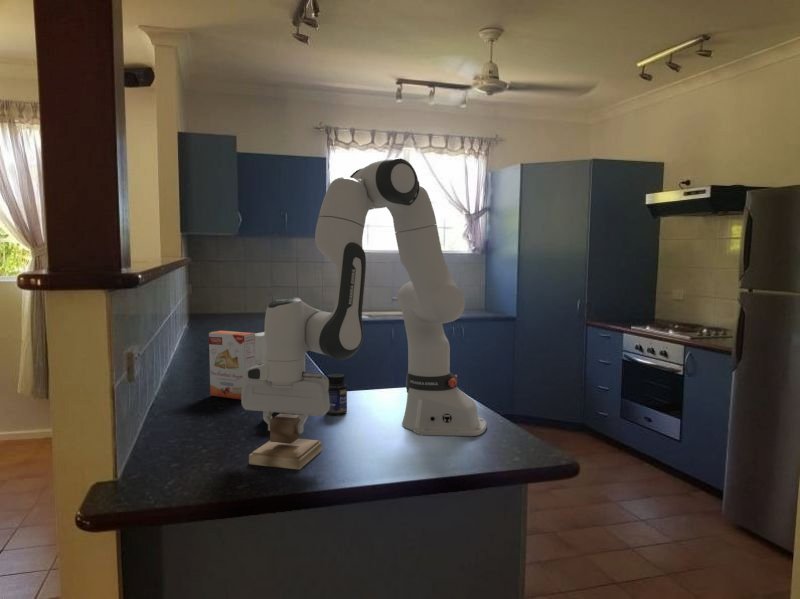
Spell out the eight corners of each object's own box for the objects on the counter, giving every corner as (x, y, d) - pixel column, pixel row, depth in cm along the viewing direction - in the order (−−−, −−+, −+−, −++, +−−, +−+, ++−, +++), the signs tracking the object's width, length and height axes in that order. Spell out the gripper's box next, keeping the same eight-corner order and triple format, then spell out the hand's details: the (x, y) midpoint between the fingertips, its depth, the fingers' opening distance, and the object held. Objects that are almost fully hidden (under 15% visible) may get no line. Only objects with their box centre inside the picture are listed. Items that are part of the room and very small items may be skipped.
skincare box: (266, 370, 219) (265, 331, 217) (277, 372, 215) (277, 332, 214) (249, 373, 212) (248, 333, 211) (260, 376, 208) (260, 335, 207)
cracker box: (209, 396, 177) (207, 332, 176) (221, 392, 183) (220, 329, 181) (244, 400, 172) (243, 334, 171) (256, 396, 178) (255, 332, 176)
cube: (300, 436, 125) (300, 415, 125) (290, 443, 121) (290, 421, 120) (280, 434, 127) (280, 413, 126) (270, 441, 122) (269, 419, 121)
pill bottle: (343, 416, 156) (343, 378, 155) (322, 415, 157) (322, 377, 156) (349, 410, 162) (349, 373, 161) (329, 409, 163) (329, 372, 162)
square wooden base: (321, 450, 128) (321, 439, 128) (299, 469, 117) (299, 458, 116) (275, 445, 131) (274, 435, 131) (249, 464, 120) (248, 452, 119)
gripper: (334, 370, 123) (334, 431, 124) (251, 365, 128) (252, 423, 129) (323, 376, 117) (323, 440, 118) (237, 370, 122) (238, 431, 123)
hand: (285, 431), depth 123 cm, fingers closed on cube, 5 cm apart
